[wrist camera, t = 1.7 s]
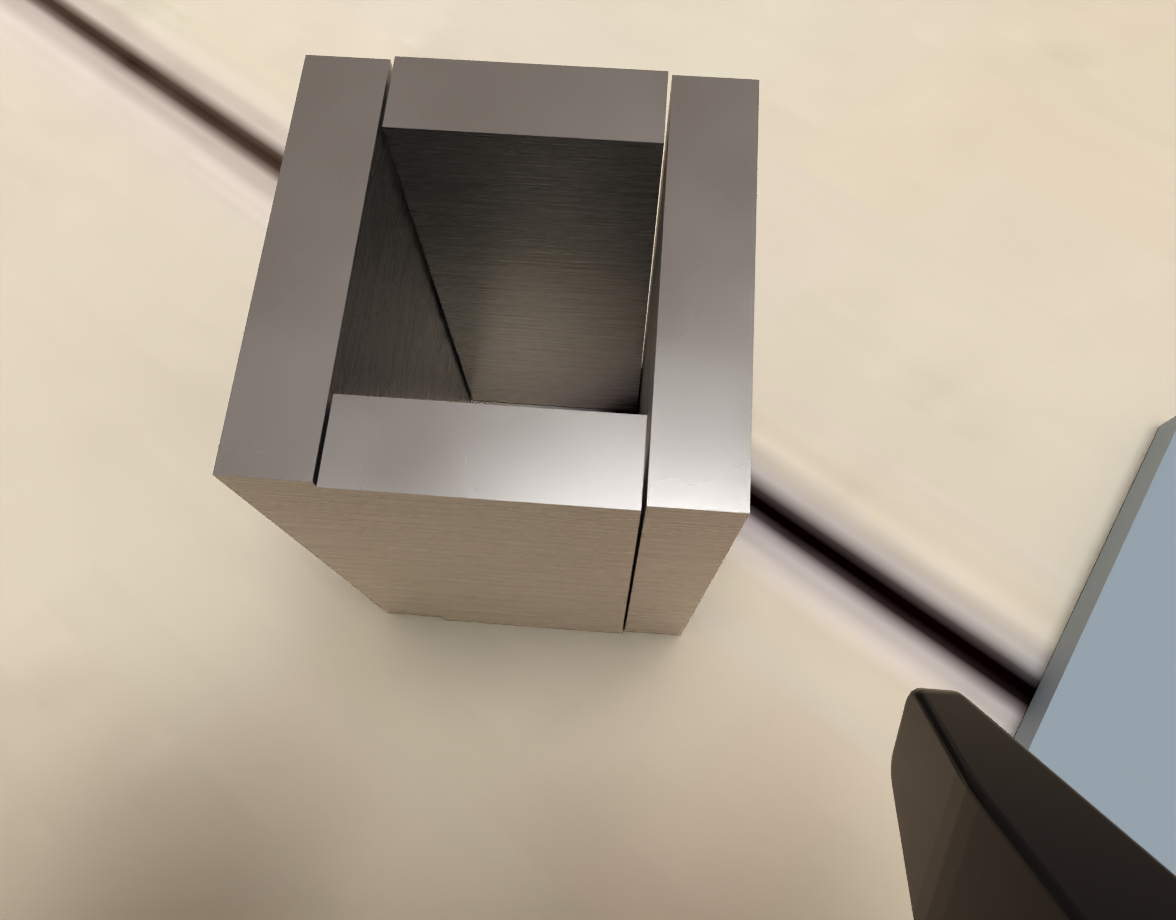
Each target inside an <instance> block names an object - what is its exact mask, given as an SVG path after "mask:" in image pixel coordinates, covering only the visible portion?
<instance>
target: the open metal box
mask: <svg viewBox="0 0 1176 920" xmlns="http://www.w3.org/2000/svg"><path fill="white" fill-rule="evenodd" d="M667 83H668V71H652V70H634V69H616V68H597V67H579V66H561V65H543V64H524V63H506V62H488V61H470V60H451V59H433V58H415V57H397V56H395V59H394V65H393V68H392V64H391V61H390V60H388V59H370V58H352V57H334V56H316V55H306V57H305V61H304V66H303V70H302V75H301V79H300V84H299V88H298V93H297V97H296V102H295V106H294V111H293V115H292V120H291V124H290V129H289V133H288V138H287V142H286V147H285V151H284V156H283V160H282V165H281V169H280V174H279V178H278V183H277V187H276V192H275V196H274V201H273V205H272V210H271V214H270V219H269V223H268V228H267V232H266V237H265V241H264V246H263V250H262V255H261V259H260V264H259V268H258V273H257V277H256V282H255V286H254V291H253V295H252V300H251V304H250V309H249V313H248V318H247V322H246V327H245V331H244V336H243V340H242V345H241V349H240V354H239V358H238V363H237V367H236V372H235V376H234V381H233V385H232V390H231V394H230V399H229V403H228V408H227V412H226V417H225V421H224V426H223V430H222V435H221V439H220V444H219V448H218V453H217V457H216V462H215V466H214V471H213V475H214V476H215V477H216V478H217V479H219V480H220V481H221V482H222V483H224V484H225V485H226V486H228V487H229V488H230V489H231V490H233V491H234V492H235V493H236V494H238V495H239V496H240V497H242V498H243V499H244V500H245V501H247V502H248V503H249V504H250V505H252V506H253V507H254V508H255V509H257V510H258V511H259V512H261V513H262V514H263V515H264V516H266V517H267V518H268V519H269V520H271V521H272V522H273V523H275V524H276V525H277V526H278V527H280V528H281V529H282V530H283V531H285V532H286V533H287V534H289V535H290V536H291V537H292V538H294V539H295V540H296V541H297V542H299V543H300V544H301V545H303V546H304V547H305V548H306V549H308V550H309V551H310V552H311V553H313V554H314V555H315V556H316V557H318V558H319V559H320V560H322V561H323V562H324V563H325V564H327V565H328V566H329V567H330V568H332V569H333V570H334V571H336V572H337V573H338V574H339V575H341V576H342V577H343V578H344V579H346V580H347V581H348V582H350V583H351V584H352V585H353V586H355V587H356V588H357V589H358V590H360V591H361V592H362V593H363V594H365V595H366V596H367V597H369V598H370V599H371V600H372V601H374V602H375V603H376V604H377V605H379V606H380V607H381V608H383V609H384V610H385V611H386V612H388V613H400V614H413V615H426V616H439V617H443V618H444V619H445V620H454V621H467V622H480V623H493V624H506V625H519V626H532V627H545V628H558V629H571V630H584V631H597V632H610V633H622V629H623V623H624V616H625V610H626V620H625V631H634V632H647V633H660V634H673V635H681V633H682V632H683V630H684V628H685V626H686V625H687V623H688V621H689V619H690V618H691V616H692V614H693V612H694V611H695V609H696V607H697V605H698V603H699V602H700V600H701V598H702V596H703V595H704V593H705V591H706V589H707V588H708V586H709V584H710V582H711V581H712V579H713V577H714V575H715V574H716V572H717V570H718V568H719V567H720V565H721V563H722V561H723V559H724V558H725V556H726V554H727V552H728V551H729V549H730V547H731V545H732V544H733V542H734V540H735V538H736V537H737V535H738V533H739V531H740V530H741V528H742V526H743V524H744V522H745V521H746V519H747V517H748V515H749V514H750V474H751V428H752V382H753V336H754V291H755V245H756V199H757V153H758V107H759V80H752V79H734V78H716V77H698V76H679V75H672V83H671V93H670V102H669V112H668V122H667V131H666V141H665V150H664V160H663V169H662V179H661V189H660V198H659V208H658V217H657V227H656V237H655V246H654V256H653V265H652V275H651V285H650V294H649V304H648V313H647V303H648V293H649V283H650V274H651V264H652V254H653V244H654V234H655V225H656V215H657V205H658V195H659V185H660V176H661V166H662V156H663V146H664V132H665V116H666V100H667ZM646 313H647V323H646ZM645 323H646V332H645ZM644 332H645V342H644ZM643 342H644V352H643ZM642 352H643V361H642ZM641 362H642V373H641V389H640V404H639V415H637V414H622V413H608V412H593V411H578V410H564V409H549V408H534V407H520V406H505V405H491V404H476V403H470V401H471V395H472V398H473V400H476V401H491V402H506V403H520V404H535V405H550V406H564V407H579V408H594V409H608V410H623V411H637V401H638V391H639V381H640V372H641Z"/></svg>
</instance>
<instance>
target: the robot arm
mask: <svg viewBox="0 0 1176 920" xmlns="http://www.w3.org/2000/svg"><path fill="white" fill-rule="evenodd" d="M891 780H892V787H893V793H894V800H895V806H896V812H897V818H898V824H899V831H900V837H901V843H902V849H903V856H904V862H905V868H906V874H907V880H908V887H909V893H910V899H911V905H912V911H913V917H914V920H1176V875H1174V874H1173V873H1172V872H1171V871H1170V870H1169V869H1167V868H1166V867H1165V866H1164V865H1163V864H1162V863H1160V862H1159V861H1158V860H1157V859H1156V858H1154V857H1153V856H1152V855H1151V854H1150V853H1149V852H1147V851H1146V850H1145V849H1144V848H1143V847H1142V846H1140V845H1139V844H1138V843H1137V842H1136V841H1134V840H1133V839H1132V838H1131V837H1130V836H1129V835H1127V834H1126V833H1125V832H1124V831H1123V830H1121V829H1120V828H1119V827H1118V826H1117V825H1116V824H1114V823H1113V822H1112V821H1111V820H1110V819H1109V818H1107V817H1106V816H1105V815H1104V814H1103V813H1101V812H1100V811H1099V810H1098V809H1097V808H1096V807H1094V806H1093V805H1092V804H1091V803H1090V802H1089V801H1087V800H1086V799H1085V798H1084V797H1083V796H1081V795H1080V794H1079V793H1078V792H1077V791H1076V790H1074V789H1073V788H1072V787H1071V786H1070V785H1069V784H1067V783H1066V782H1065V781H1064V780H1063V779H1061V778H1060V777H1059V776H1058V775H1057V774H1056V773H1054V772H1053V771H1052V770H1051V769H1050V768H1049V767H1047V766H1046V765H1045V764H1044V763H1043V762H1041V761H1040V760H1039V759H1038V758H1037V757H1036V756H1034V755H1033V754H1032V753H1031V752H1030V751H1028V750H1027V749H1026V748H1025V747H1024V746H1023V745H1021V744H1020V743H1019V742H1018V741H1017V740H1016V739H1014V738H1013V737H1012V736H1011V735H1010V734H1008V733H1007V732H1006V731H1005V730H1004V729H1003V728H1001V727H1000V726H999V725H998V724H997V723H996V722H994V721H993V720H992V719H991V718H990V717H988V716H987V715H986V714H985V713H984V712H983V711H981V710H980V709H979V708H978V707H977V706H976V705H974V704H973V703H972V702H971V701H970V700H968V699H967V698H966V697H965V696H963V695H962V694H960V693H959V692H956V691H952V690H939V689H926V688H917V689H915V690H913V691H911V693H910V694H909V696H908V698H907V700H906V703H905V707H904V711H903V715H902V719H901V723H900V727H899V730H898V734H897V738H896V742H895V746H894V750H893V754H892V761H891Z"/></svg>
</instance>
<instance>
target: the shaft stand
mask: <svg viewBox="0 0 1176 920" xmlns="http://www.w3.org/2000/svg"><path fill="white" fill-rule="evenodd" d="M1014 739H1016V740H1017V741H1018V742H1019V743H1020V744H1021V745H1023V746H1024V747H1025V748H1026V749H1027V750H1028V751H1030V752H1031V753H1032V754H1033V755H1034V756H1036V757H1037V758H1038V759H1039V760H1040V761H1041V762H1043V763H1044V764H1045V765H1046V766H1047V767H1049V768H1050V769H1051V770H1052V771H1053V772H1054V773H1056V774H1057V775H1058V776H1059V777H1060V778H1061V779H1063V780H1064V781H1065V782H1066V783H1067V784H1069V785H1070V786H1071V787H1072V788H1073V789H1074V790H1076V791H1077V792H1078V793H1079V794H1080V795H1081V796H1083V797H1084V798H1085V799H1086V800H1087V801H1089V802H1090V803H1091V804H1092V805H1093V806H1094V807H1096V808H1097V809H1098V810H1099V811H1100V812H1101V813H1103V814H1104V815H1105V816H1106V817H1107V818H1109V819H1110V820H1111V821H1112V822H1113V823H1114V824H1116V825H1117V826H1118V827H1119V828H1120V829H1121V830H1123V831H1124V832H1125V833H1126V834H1127V835H1129V836H1130V837H1131V838H1132V839H1133V840H1134V841H1136V842H1137V843H1138V844H1139V845H1140V846H1142V847H1143V848H1144V849H1145V850H1146V851H1147V852H1149V853H1150V854H1151V855H1152V856H1153V857H1154V858H1156V859H1157V860H1158V861H1159V862H1160V863H1162V864H1163V865H1164V866H1165V867H1166V868H1167V869H1169V870H1170V871H1171V872H1172V873H1173V874H1174V875H1176V416H1175V417H1174V418H1172V419H1170V420H1169V421H1167V422H1166V423H1164V424H1162V425H1161V426H1160V427H1159V429H1158V431H1157V433H1156V436H1155V438H1154V440H1153V442H1152V444H1151V446H1150V448H1149V451H1148V453H1147V455H1146V457H1145V459H1144V461H1143V463H1142V466H1141V468H1140V470H1139V472H1138V474H1137V476H1136V478H1135V480H1134V483H1133V485H1132V487H1131V489H1130V491H1129V493H1128V495H1127V498H1126V500H1125V502H1124V504H1123V506H1122V508H1121V510H1120V513H1119V515H1118V517H1117V519H1116V521H1115V523H1114V525H1113V528H1112V530H1111V532H1110V534H1109V536H1108V538H1107V540H1106V542H1105V545H1104V547H1103V549H1102V551H1101V553H1100V555H1099V557H1098V560H1097V562H1096V564H1095V566H1094V568H1093V570H1092V572H1091V575H1090V577H1089V579H1088V581H1087V583H1086V585H1085V587H1084V590H1083V592H1082V594H1081V596H1080V598H1079V600H1078V602H1077V605H1076V607H1075V609H1074V611H1073V613H1072V615H1071V617H1070V619H1069V622H1068V624H1067V626H1066V628H1065V630H1064V632H1063V634H1062V637H1061V639H1060V641H1059V643H1058V645H1057V647H1056V649H1055V652H1054V654H1053V656H1052V658H1051V660H1050V662H1049V664H1048V667H1047V669H1046V671H1045V673H1044V675H1043V677H1042V679H1041V681H1040V684H1039V686H1038V688H1037V690H1036V692H1035V694H1034V696H1033V699H1032V701H1031V703H1030V705H1029V707H1028V709H1027V711H1026V714H1025V716H1024V718H1023V720H1022V722H1021V724H1020V726H1019V729H1018V731H1017V733H1016V735H1015V737H1014Z"/></svg>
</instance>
